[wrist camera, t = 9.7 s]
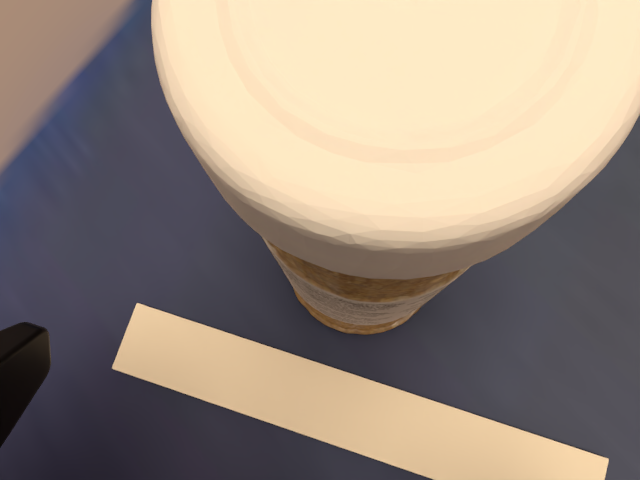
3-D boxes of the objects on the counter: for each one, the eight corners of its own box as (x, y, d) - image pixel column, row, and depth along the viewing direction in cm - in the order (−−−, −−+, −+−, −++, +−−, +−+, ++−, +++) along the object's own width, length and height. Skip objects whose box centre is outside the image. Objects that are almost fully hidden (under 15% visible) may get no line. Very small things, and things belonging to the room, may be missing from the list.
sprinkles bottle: (369, 161, 19) (427, -323, 6) (469, 271, 18) (808, -2, 5) (255, 254, 18) (32, -42, 5) (352, 371, 17) (378, 372, 4)
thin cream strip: (588, 531, 16) (592, 534, 16) (115, 368, 18) (111, 368, 17) (604, 457, 17) (608, 459, 16) (140, 304, 18) (136, 302, 18)
